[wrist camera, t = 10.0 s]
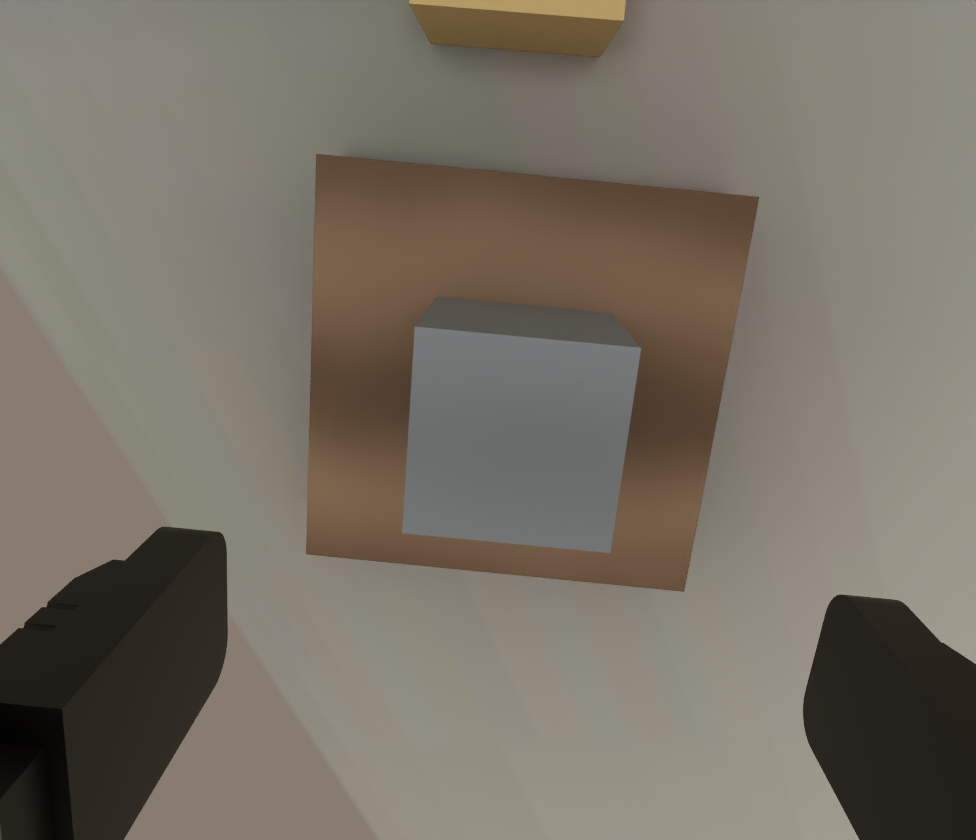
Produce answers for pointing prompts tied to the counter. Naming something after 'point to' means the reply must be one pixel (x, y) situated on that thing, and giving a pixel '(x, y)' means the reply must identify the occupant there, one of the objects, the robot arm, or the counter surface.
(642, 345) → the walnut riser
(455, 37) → the ochre block
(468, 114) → the counter surface
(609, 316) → the slate block
